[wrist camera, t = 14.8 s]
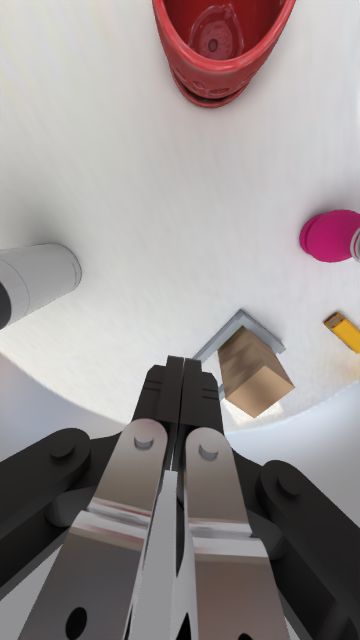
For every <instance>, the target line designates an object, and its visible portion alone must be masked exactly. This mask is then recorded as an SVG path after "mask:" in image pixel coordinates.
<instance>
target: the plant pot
mask: <svg viewBox="0 0 360 640" xmlns="http://www.w3.org/2000/svg"><path fill="white" fill-rule="evenodd" d="M295 2H296V0H152V4H153V9H154V14H155V19H156V24H157V28H158V32H159V36H160V39H161V43H162V46H163V49H164V52H165V54H166V57H167V59H168V62H169V66H170V70H171V73H172V76H173V78H174V81H175V83H176V85H177V86H178V88H179V89H180V91H181V92H182V93H183V95H184V96H185V97H186V98H187V99H189V100H190V101H191V102H193V103H195V104H197V105H199V106H202V107H208V108H213V107H220V106H222V105H225V104H227V103H229V102H230V101H232V100H233V99H235V98H236V97H237V96H238V95H239V94H240V93H241V92H242V91H243V90H244V89H245V88H246V86H247V85H248V83H249V82H250V80H251V78H252V77H253V76H254V75H255V74H256V72H257V71H258V70H259V68H260V67H261V66H262V65H263V63H264V62H265V61H266V59H267V58H268V56H269V54H270V53H271V51H272V49H273V48H274V46H275V44H276V43H277V41H278V39H279V37H280V35H281V33H282V31H283V29H284V27H285V25H286V23H287V21H288V18H289V16H290V14H291V12H292V9H293V7H294V4H295Z"/></svg>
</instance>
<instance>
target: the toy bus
mask: <svg viewBox="0 0 360 640" xmlns="http://www.w3.org/2000/svg"><path fill="white" fill-rule="evenodd" d="M324 324H325V325H326V326H327V327H328V328H329V329H330V330H331V331H332V332H333V333H334V334H335V335H337V336H338V337H339V338H340V339H341V340H342V341H343V342H344V343H345V344H346V345H347V346H348V347H349V348H350V349H352V350H353V351H354V352H355V353H360V331H359V330H358V329H357V328H356V327H355V326H354V325H353V324H352V323H350V322H349V321H348V320H347V319H346V318H345V317H343V316H342V315H341V314H339V313H337V314H335V315H334V316H333V317H331V318H330V319H329V320H328V321H326V322H325V323H324Z"/></svg>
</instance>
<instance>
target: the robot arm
mask: <svg viewBox="0 0 360 640" xmlns="http://www.w3.org/2000/svg"><path fill="white" fill-rule="evenodd" d="M80 279H81V269H80V265H79V263H78V261H77V259H76V257H75V256H74V255H73V254H72V253H71V252H70V251H69V250H68V249H66V248H65V247H63V246H61V245H58V244H52V243H50V244H42V245H34V246H27V247H20V248H13V249H6V250H0V330H1V329H3V328H5V327H6V326H8V325H10V324H12V323H14V322H15V321H17V320H19V319H21V318H23V317H24V316H26V315H28V314H30V313H32V312H34V311H35V310H37V309H39V308H41V307H43V306H44V305H46V304H48V303H50V302H52V301H54V300H55V299H57V298H59V297H61V296H63V295H65V294H66V293H68V292H70V291H72V290H73V289H75V288H76V287H77V286H78V284H79V282H80ZM183 363H184V367H183ZM173 448H174V451H173ZM172 454H173V461H172V471H177V472H178V477H177V488H176V492H175V503H174V507H175V508H174V571H173V574H174V575H173V591H172V602H171V618H170V640H291V639H290V636H289V632H288V629H287V624H286V621H285V617H286V619H287V620H288V621H289V623H290V625H291V626H292V628H293V629H294V631H295V632H296V634H297V635H298V637H299V639H300V640H360V528H359V527H358V526H357V525H356V524H355V523H354V522H353V521H352V520H351V519H349V518H348V517H347V516H346V515H345V514H344V513H343V512H342V511H341V510H340V509H339V508H338V507H337V506H336V505H335V504H334V503H333V502H332V501H331V500H330V499H329V498H328V497H326V496H325V495H324V494H323V493H322V492H321V491H320V490H319V489H318V488H317V487H316V486H315V485H314V484H313V483H312V482H311V481H310V480H309V479H308V478H307V477H306V476H304V475H303V474H302V473H301V472H300V471H299V470H298V469H297V468H295V467H293V466H292V465H290V464H289V463H286V462H283V461H280V460H271V461H268V462H267V463H266V464H265V465H264V466H261V465H259V464H257V463H255V462H253V461H251V460H248V459H246V458H244V457H243V456H241V455H239V454H238V453H237V452H236V451H234V450H233V448H232V447H231V446H230V444H229V442H228V440H227V439H226V438H225V435H224V430H223V423H222V415H221V407H220V401H219V393H218V384H217V381H216V379H215V378H214V376H213V375H212V373H208V372H202V368H201V360H197V359H190V358H185V361H184V358H183V357H176V356H170V355H168V359H167V363H166V366H160V365H154V366H153V367H152V368H151V369H150V370H149V371H148V372H147V375H146V378H145V382H144V385H143V388H142V391H141V394H140V397H139V400H138V403H137V406H136V409H135V412H134V415H133V418H132V421H131V422H130V423H129V424H128V425H127V426H126V427H125V428H124V430H123V431H121V432H120V433H118V434H116V435H113V436H109V437H104V438H97V439H91V440H90V438H89V436H88V435H87V434H86V432H84V431H83V430H80V429H77V428H66V429H62V430H59V431H56V432H54V433H52V434H50V435H49V436H47V437H45V438H43V439H41V440H40V441H38V442H36V443H34V444H32V445H31V446H29V447H27V448H25V449H24V450H22V451H20V452H18V453H16V454H14V455H13V456H11V457H9V458H7V459H5V460H3V461H2V462H0V601H1V600H2V599H3V598H4V597H5V596H6V595H7V594H8V593H9V592H11V591H12V590H13V589H14V588H15V587H16V586H17V585H18V584H19V583H20V582H21V581H22V580H24V579H25V578H26V577H27V576H28V575H29V574H30V573H31V572H32V571H33V570H35V569H36V568H37V567H38V566H39V565H40V564H41V563H42V562H43V561H44V560H45V559H47V558H48V557H49V556H50V555H51V554H52V553H53V552H54V551H55V550H56V549H58V548H59V547H60V546H61V545H62V547H61V549H60V551H59V553H58V555H57V557H56V559H55V561H54V563H53V565H52V567H51V570H50V572H49V574H48V576H47V578H46V580H45V582H44V584H43V586H42V589H41V591H40V593H39V595H38V597H37V599H36V601H35V603H34V605H33V607H32V610H31V612H30V614H29V616H28V618H27V620H26V622H25V624H24V626H23V628H22V631H21V633H20V635H19V637H18V639H17V640H130V636H131V631H132V626H133V621H134V616H135V611H136V606H137V601H138V596H139V590H140V585H141V580H142V575H143V570H144V565H145V560H146V555H147V550H148V545H149V540H150V536H151V531H152V526H153V521H154V516H155V511H156V506H157V501H158V496H159V494H160V492H161V489H162V484H163V478H164V472H165V470H170V465H171V459H172ZM284 616H285V617H284Z"/></svg>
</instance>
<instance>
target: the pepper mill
mask: <svg viewBox="0 0 360 640" xmlns="http://www.w3.org/2000/svg"><path fill="white" fill-rule="evenodd" d="M300 245H301V247H302V249H303V250H304V251H305V252H306V253H308V254H310V255H312V256H313V257H314V258H315V259H317V260H319V261H322V262H329V263H331V262H339V261H343V260H346V259H349V258H351V257H353V258H354V259H355V260H356V261H358V262H360V214H358V213H356V212H354V211H351V210H334V211H331V212H328V213H326V214H323V215H318V216H316V217H314V218H312V219H311V220H309V221H308V222H307V223H306V225H305V226H304V227H303V229H302V231H301V234H300Z"/></svg>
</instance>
